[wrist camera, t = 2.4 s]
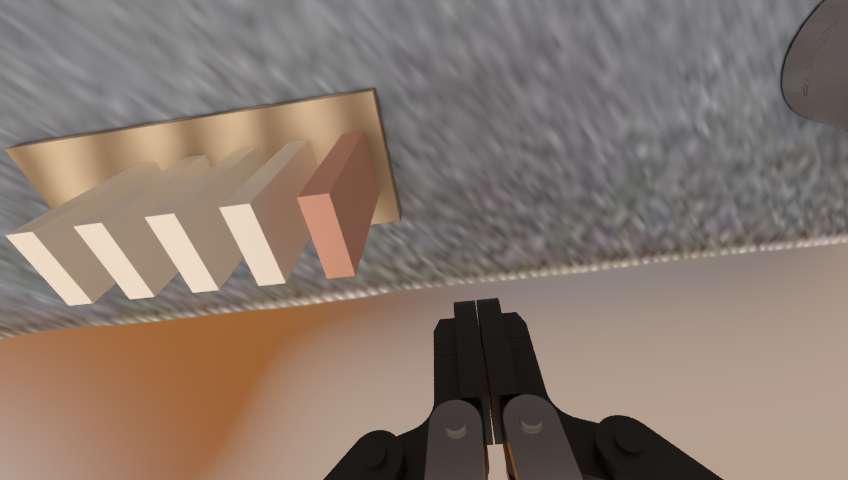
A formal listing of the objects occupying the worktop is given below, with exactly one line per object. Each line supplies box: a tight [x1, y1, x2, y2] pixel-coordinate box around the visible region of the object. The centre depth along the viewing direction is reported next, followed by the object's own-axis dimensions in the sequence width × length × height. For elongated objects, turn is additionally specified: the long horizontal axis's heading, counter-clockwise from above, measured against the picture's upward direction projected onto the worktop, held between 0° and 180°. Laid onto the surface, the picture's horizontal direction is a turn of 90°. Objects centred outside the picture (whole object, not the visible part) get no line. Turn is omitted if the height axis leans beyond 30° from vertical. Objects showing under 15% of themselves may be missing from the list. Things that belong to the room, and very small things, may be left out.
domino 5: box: [297, 131, 379, 279], centre depth 23 cm, size 2×5×10 cm, turn 8°
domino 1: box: [5, 162, 161, 306], centre depth 25 cm, size 2×5×10 cm, turn 9°
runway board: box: [5, 88, 401, 224], centre depth 29 cm, size 28×10×1 cm, turn 99°
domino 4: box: [219, 139, 318, 286], centre depth 23 cm, size 2×5×10 cm, turn 8°
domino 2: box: [73, 154, 212, 299], centre depth 24 cm, size 2×5×10 cm, turn 9°
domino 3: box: [145, 147, 264, 293], centre depth 24 cm, size 2×5×10 cm, turn 9°
